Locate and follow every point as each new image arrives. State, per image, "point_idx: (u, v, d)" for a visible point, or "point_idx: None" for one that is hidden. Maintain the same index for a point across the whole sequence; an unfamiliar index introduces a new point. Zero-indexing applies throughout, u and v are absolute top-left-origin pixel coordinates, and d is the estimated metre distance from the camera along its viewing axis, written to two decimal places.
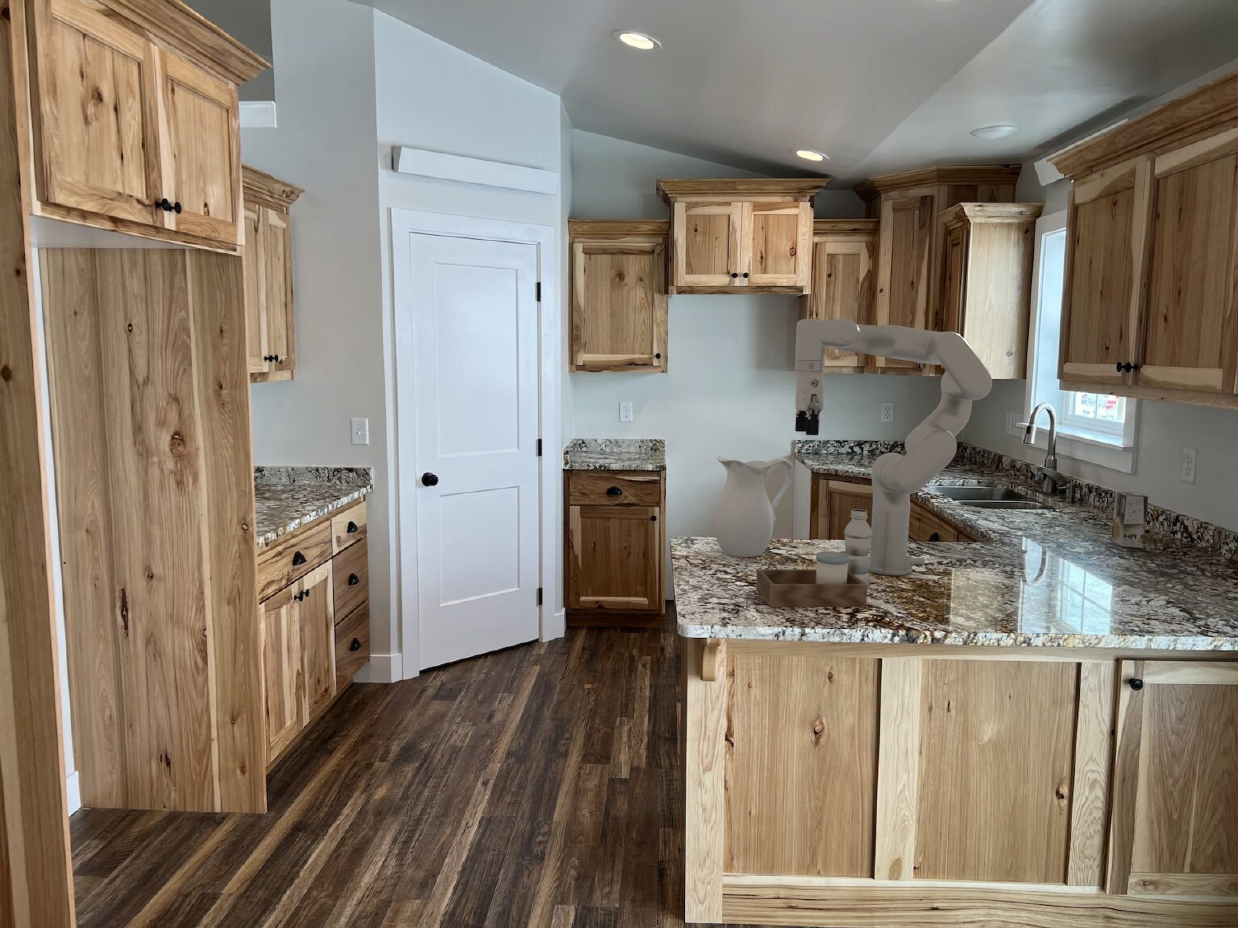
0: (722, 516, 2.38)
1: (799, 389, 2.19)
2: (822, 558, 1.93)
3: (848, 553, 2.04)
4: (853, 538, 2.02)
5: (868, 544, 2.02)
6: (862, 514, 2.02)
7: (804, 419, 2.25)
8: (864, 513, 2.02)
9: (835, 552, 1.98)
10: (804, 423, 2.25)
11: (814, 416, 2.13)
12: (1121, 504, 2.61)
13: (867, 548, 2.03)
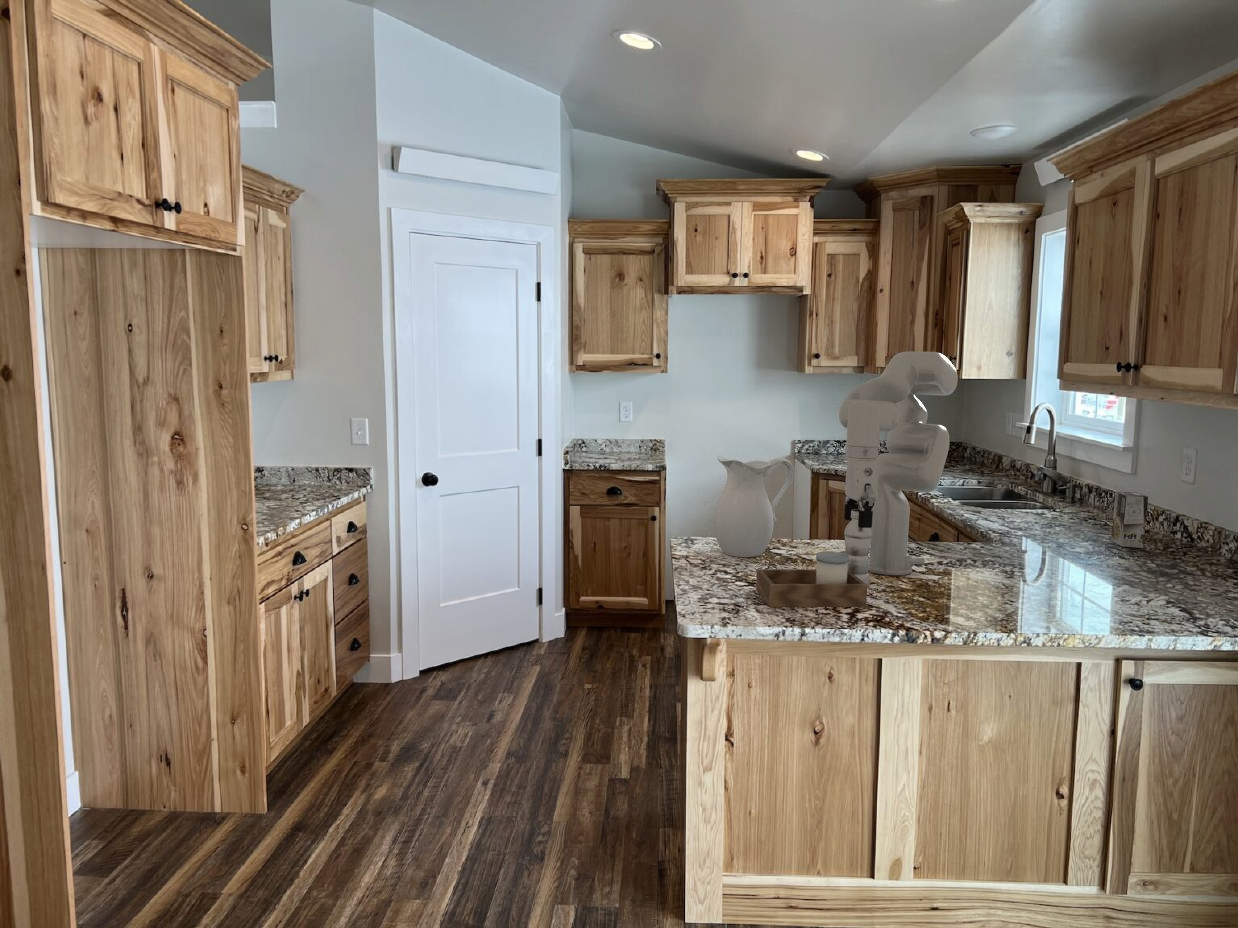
0: (722, 516, 2.38)
1: (850, 476, 2.02)
2: (822, 558, 1.93)
3: (848, 553, 2.04)
4: (853, 538, 2.02)
5: (868, 544, 2.02)
6: None
7: (854, 507, 2.08)
8: None
9: (835, 552, 1.98)
10: None
11: (868, 508, 1.96)
12: (1121, 504, 2.61)
13: (867, 548, 2.03)
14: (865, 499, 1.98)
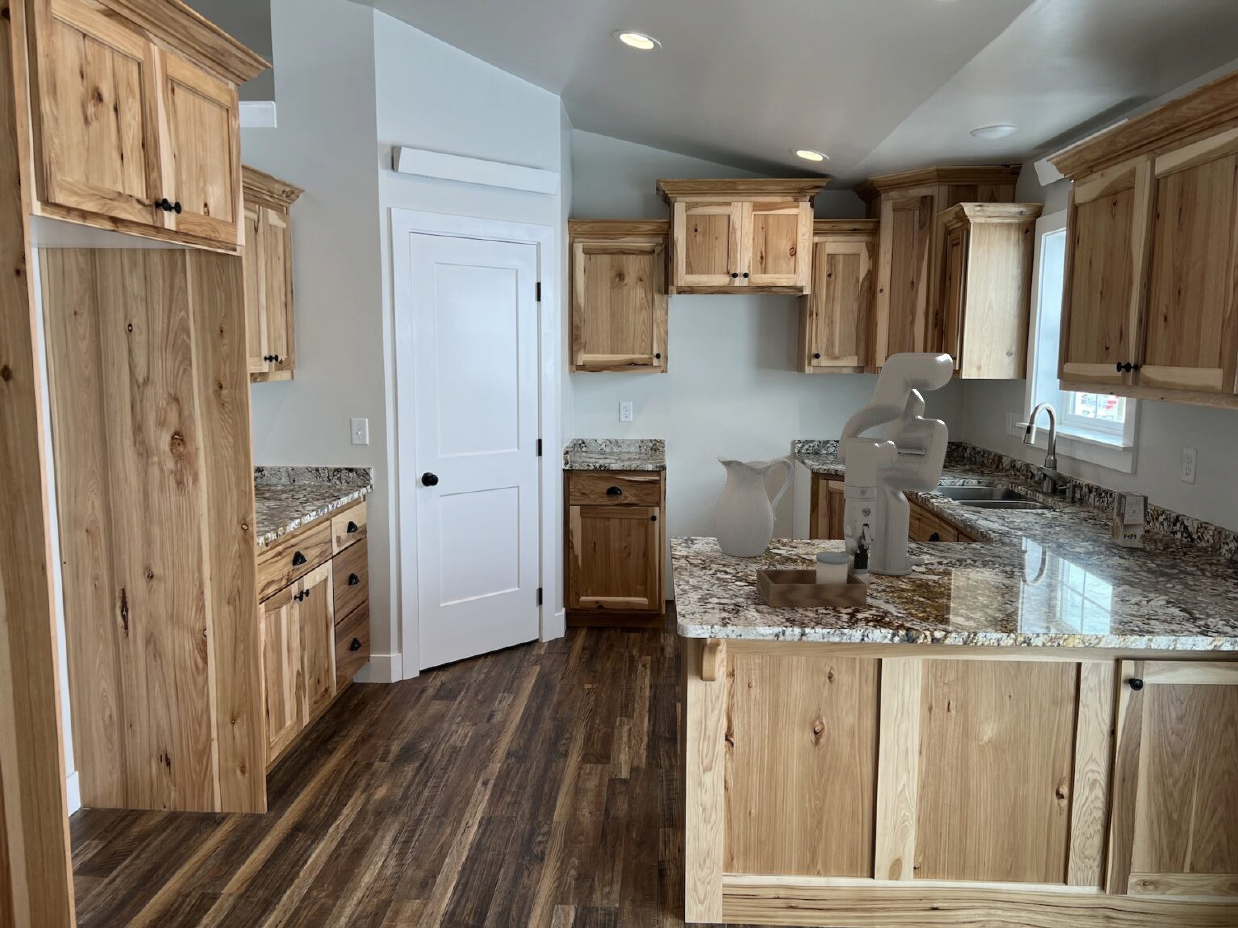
0: (722, 516, 2.38)
1: (849, 515, 2.03)
2: (822, 558, 1.93)
3: (848, 553, 2.04)
4: (852, 538, 2.02)
5: None
6: None
7: None
8: None
9: (835, 552, 1.98)
10: None
11: (863, 550, 2.00)
12: (1121, 504, 2.61)
13: None
14: (862, 541, 2.01)
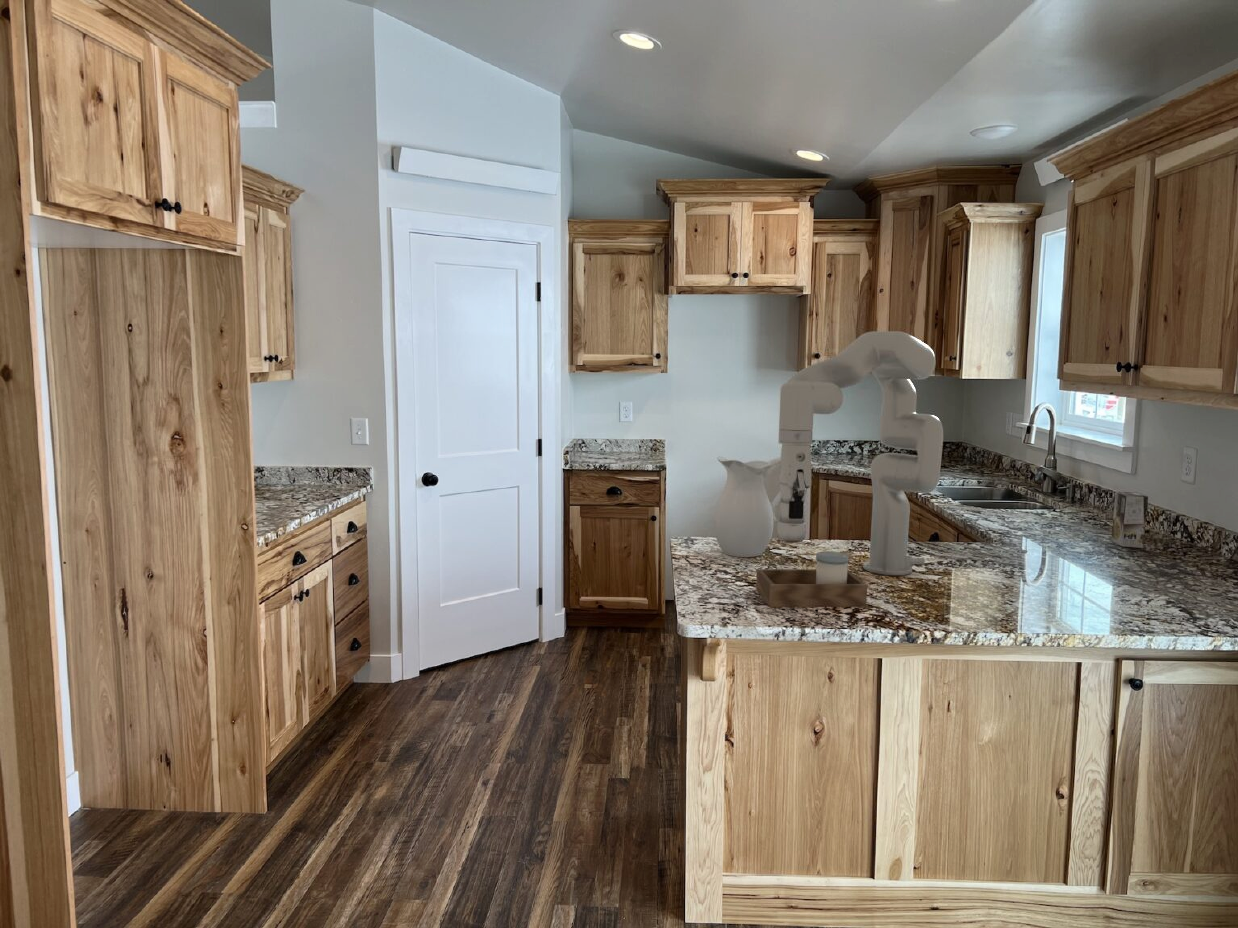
0: (722, 516, 2.38)
1: (783, 462, 1.91)
2: (822, 558, 1.93)
3: (783, 502, 1.92)
4: None
5: (804, 492, 1.91)
6: None
7: None
8: None
9: (835, 552, 1.98)
10: None
11: (798, 498, 1.88)
12: (1121, 504, 2.61)
13: None
14: (797, 488, 1.89)
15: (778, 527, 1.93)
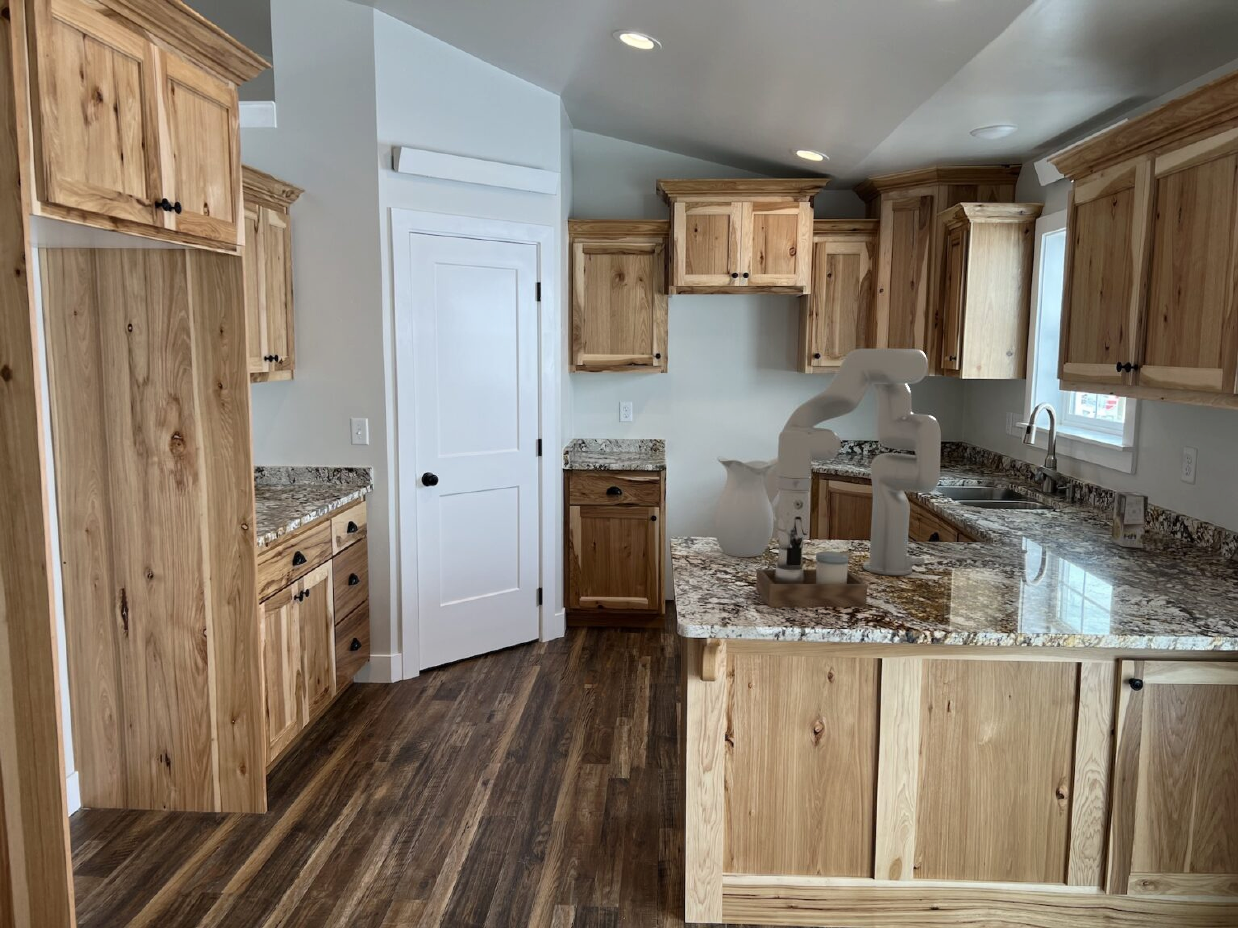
0: (722, 516, 2.38)
1: (781, 508, 1.93)
2: (822, 558, 1.93)
3: (781, 548, 1.93)
4: None
5: None
6: None
7: None
8: None
9: (835, 552, 1.98)
10: None
11: (796, 545, 1.89)
12: (1121, 504, 2.61)
13: None
14: (794, 535, 1.90)
15: (776, 573, 1.95)
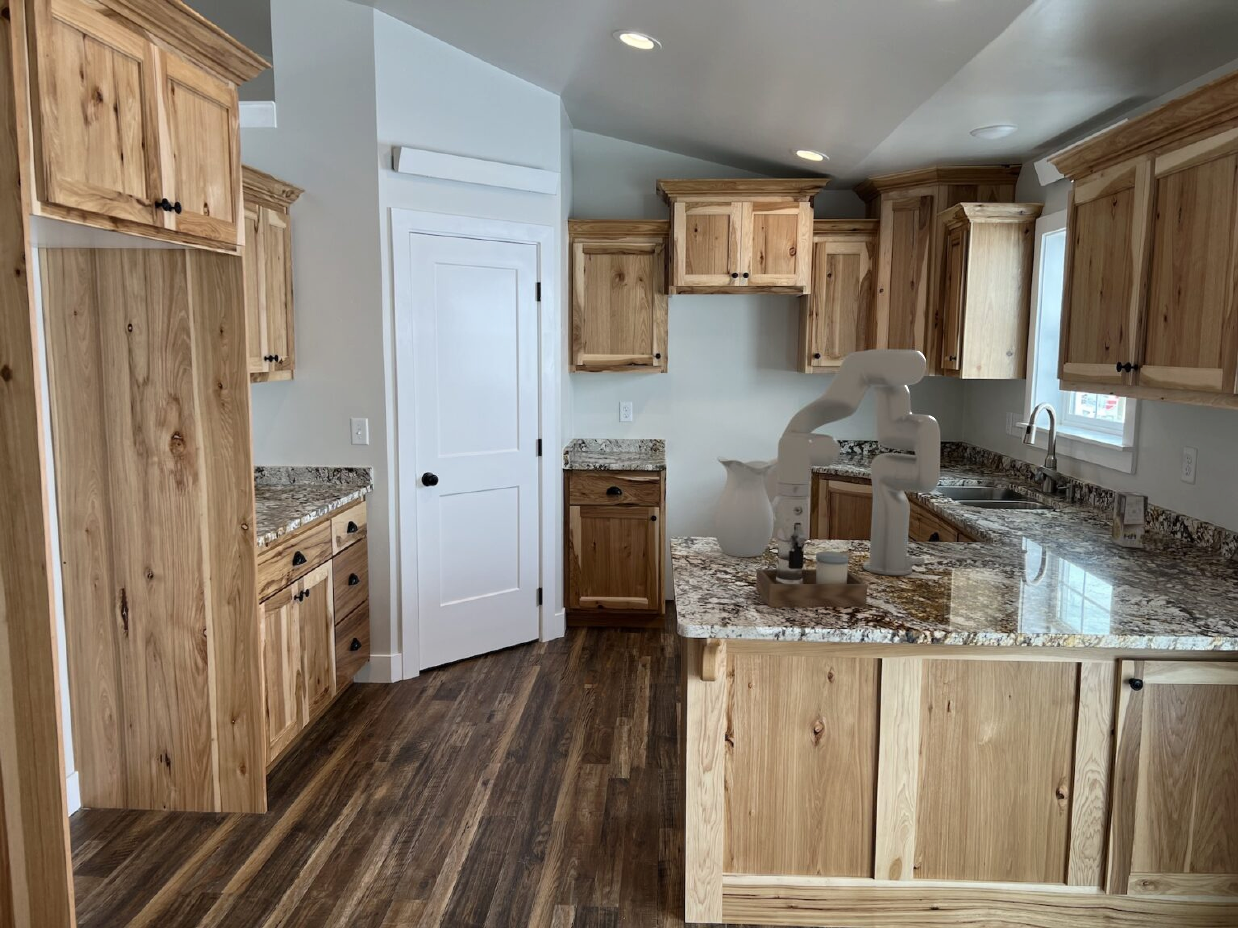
0: (722, 516, 2.38)
1: (781, 514, 1.93)
2: (822, 558, 1.93)
3: (781, 558, 1.94)
4: (785, 542, 1.92)
5: None
6: None
7: None
8: None
9: (835, 552, 1.98)
10: None
11: (798, 548, 1.88)
12: (1121, 504, 2.61)
13: None
14: (795, 539, 1.89)
15: (776, 582, 1.95)
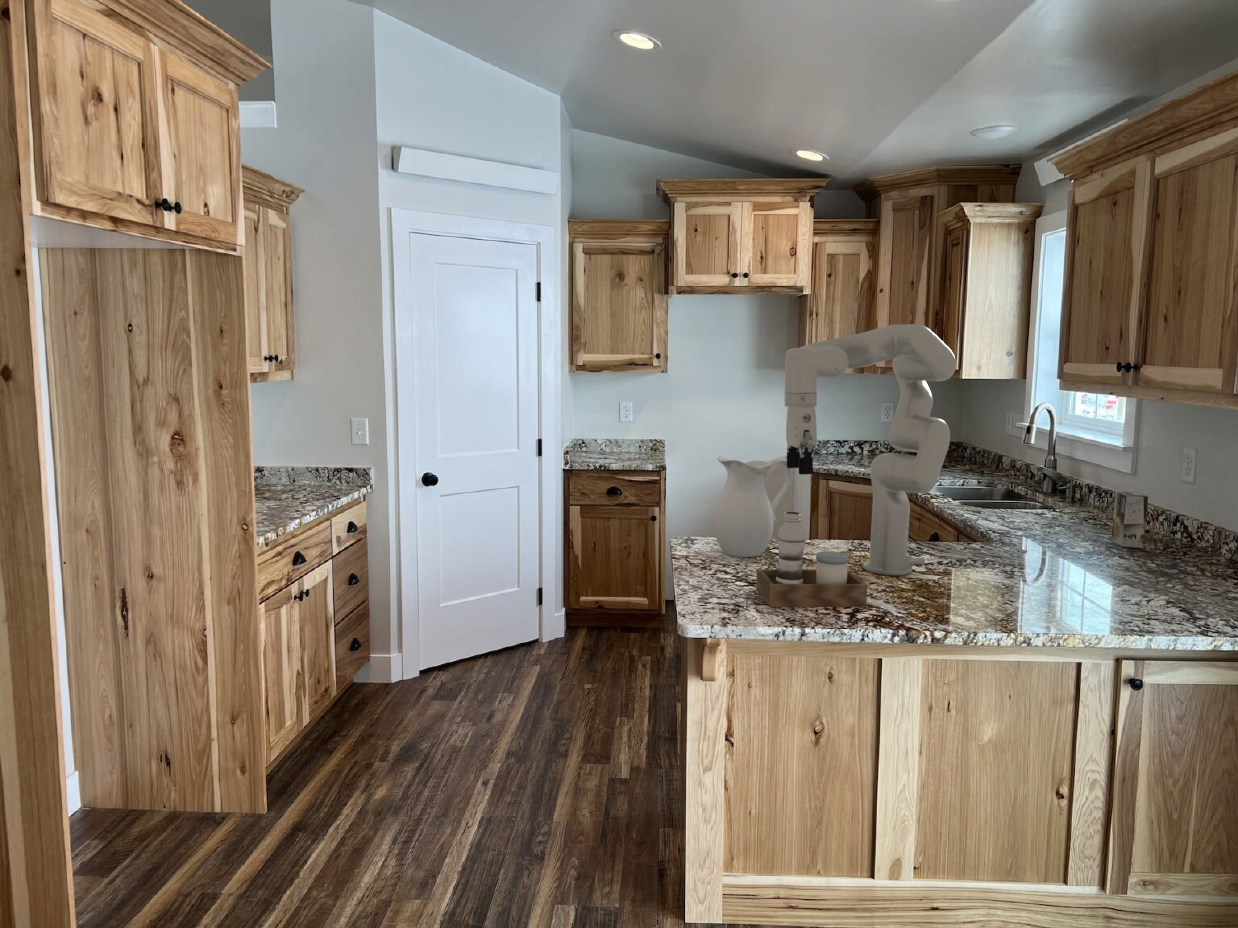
0: (722, 516, 2.38)
1: (790, 424, 2.01)
2: (822, 558, 1.93)
3: (781, 558, 1.94)
4: (785, 542, 1.92)
5: (801, 548, 1.93)
6: (795, 517, 1.92)
7: (796, 454, 2.08)
8: (797, 516, 1.92)
9: (835, 552, 1.98)
10: (796, 459, 2.08)
11: (807, 454, 1.96)
12: (1121, 504, 2.61)
13: (800, 552, 1.93)
14: (805, 446, 1.98)
15: (776, 582, 1.95)
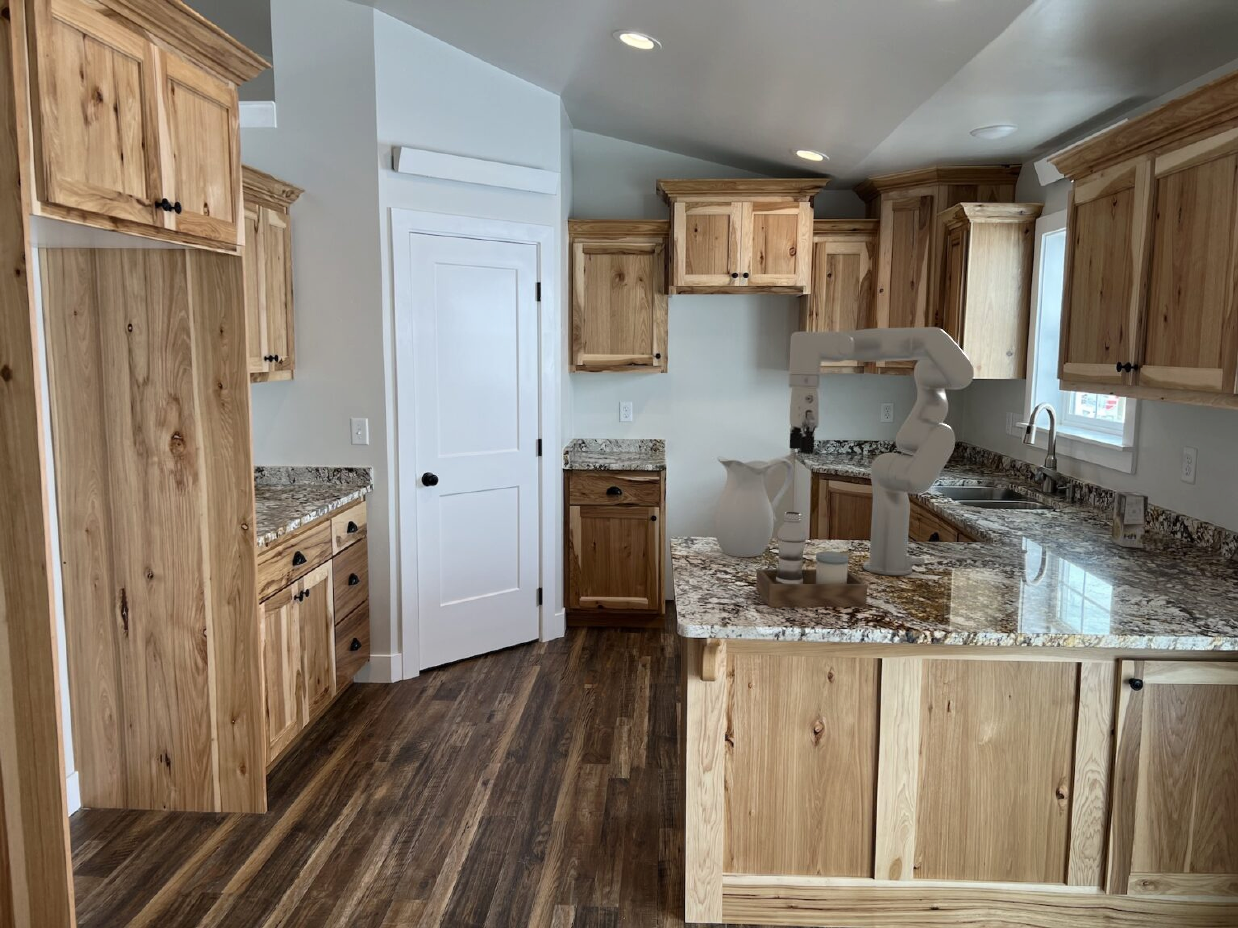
0: (722, 516, 2.38)
1: (793, 405, 2.09)
2: (822, 558, 1.93)
3: (781, 558, 1.94)
4: (785, 542, 1.92)
5: (801, 548, 1.93)
6: (795, 517, 1.92)
7: (799, 435, 2.15)
8: (797, 516, 1.92)
9: (835, 552, 1.98)
10: (799, 440, 2.15)
11: (809, 433, 2.04)
12: (1121, 504, 2.61)
13: (800, 552, 1.93)
14: (807, 425, 2.06)
15: (776, 582, 1.95)
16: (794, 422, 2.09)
